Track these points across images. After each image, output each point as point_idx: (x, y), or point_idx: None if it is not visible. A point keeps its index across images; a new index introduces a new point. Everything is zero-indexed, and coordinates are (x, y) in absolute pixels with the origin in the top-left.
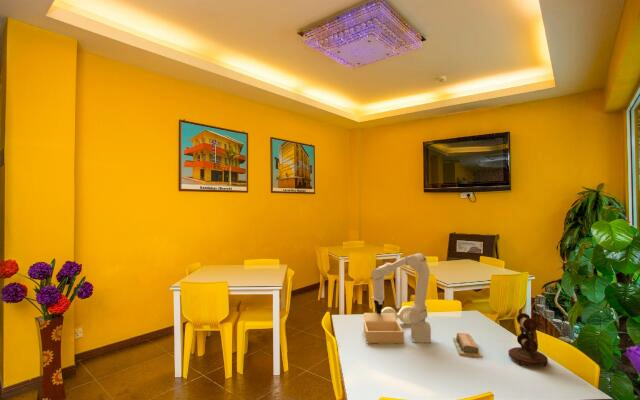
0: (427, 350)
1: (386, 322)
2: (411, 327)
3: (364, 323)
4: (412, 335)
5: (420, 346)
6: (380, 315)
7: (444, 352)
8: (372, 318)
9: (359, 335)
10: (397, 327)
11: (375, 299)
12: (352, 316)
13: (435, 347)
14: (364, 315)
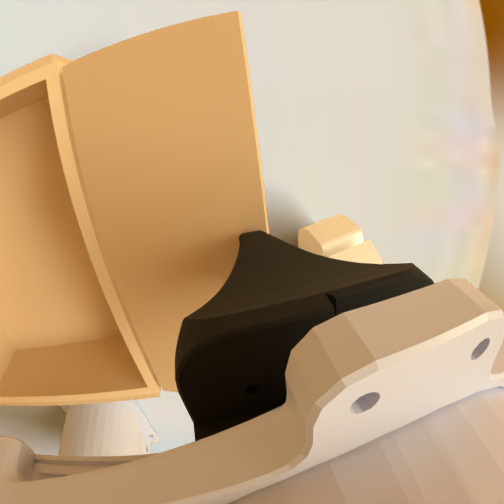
0: (15, 418)
1: (114, 314)
2: (74, 447)
3: (6, 79)
4: (72, 413)
5: (33, 407)
6: (212, 271)
7: (36, 451)
8: (125, 159)
9: (37, 47)
10: (111, 370)
11: (136, 476)
12: (457, 4)
13: (58, 442)
14: (169, 31)
